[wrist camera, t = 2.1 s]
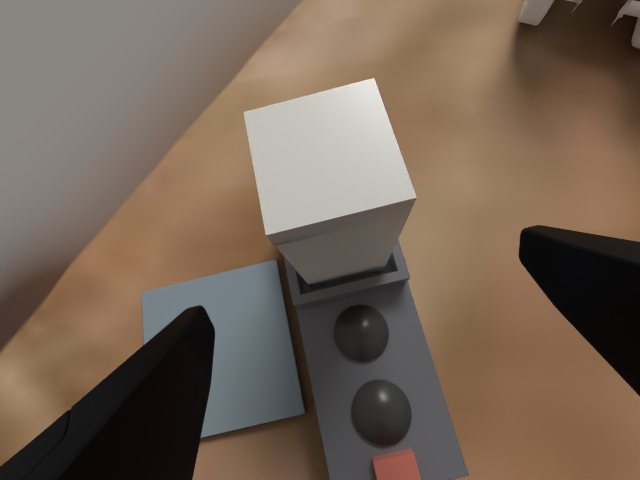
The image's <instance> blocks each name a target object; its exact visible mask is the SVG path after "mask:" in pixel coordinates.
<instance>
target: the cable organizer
mask: <svg viewBox="0 0 640 480" xmlns="http://www.w3.org/2000/svg"><path fill="white" fill-rule="evenodd" d="M565 1H570V2H575V3H577V5H576V6H575V8H574V10H575V9H576V7H577V6H578V5H579V4H580V3H581V2H582V0H565ZM553 2H554V0H525V1H524V3H523V6H522V8H521V11H520V15H519V20H518V21H519V22H523V23H527V24H531V25H535V26H537V25H538V24H539V23H540V22H541V20H542V19H543V18H544V16H545V15H546V13H547V12H548V10H549V8H550V7H551V5H552V3H553ZM574 10H573V11H574ZM571 14H572V13H571ZM623 14H625V15H630V16H635V17H638V19H637V23H636V26H635V29H634V33H633V36H632V46H633V47H635V48H640V2H639V1H634V0H628V1H627V2H626V3H625V5H624V6H623V7H622V8H621V9H620V10H619V11H618V15H617V17H616V19H615V20H614V22H613V24H614V23H615V21H616V20H617V19H618V18H622V16H623ZM613 24H612V25H613ZM612 25H611V26H612Z"/></svg>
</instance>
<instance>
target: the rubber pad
mask: <svg viewBox="0 0 640 480" xmlns="http://www.w3.org/2000/svg"><path fill="white" fill-rule="evenodd" d="M198 305H201V306H203V307H204V308H205V310H206V312H207V314H208V316H209V318H210V320H211V322H212V324H213V326H214V328H215V344H214V356H213V368H212V379H211V387H210V392H209V398H208V403H207V408H206V413H205V418H204V423H203V428H202V433H201V438H202V437H206V436H211V435H215V434H219V433H224V432H228V431H232V430H237V429H241V428H245V427H250V426H254V425H258V424H262V423H267V422H271V421H275V420H280V419H284V418H288V417H293V416H297V415H301V414H305V413H306V411H305V406H304V400H303V395H302V390H301V384H300V379H299V374H298V368H297V363H296V358H295V352H294V347H293V342H292V336H291V331H290V326H289V320H288V315H287V310H286V304H285V299H284V294H283V288H282V283H281V278H280V273H279V267H278V262H277V260H276V259H275V260H271V261H267V262H263V263H259V264H255V265H251V266H247V267H243V268H239V269H235V270H231V271H227V272H223V273H219V274H215V275H211V276H207V277H203V278H198V279H194V280H190V281H186V282H182V283H178V284H174V285H170V286H166V287H162V288H158V289H154V290H150V291H146V292H142V311H143V333H144V345H145V344H146V343H147V342H148V341H149V340H150V339H152V338H153V337H154V336H155V335H156V334H157V333H159V332H160V331H161V330H162V329H163V328H164V327H166V326H167V325H168V324H169V323H170V322H171V321H172V320H174V319H175V318H176V317H177V316H178V315H179V314H181V313H182V312H183V311H184V310H185V309H187V308H189V307H194V306H198Z"/></svg>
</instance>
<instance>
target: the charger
mask: <svg viewBox="0 0 640 480" xmlns="http://www.w3.org/2000/svg"><path fill="white" fill-rule="evenodd" d="M244 117H245V122H246V128H247V133H248V139H249V144H250V150H251V156H252V161H253V167H254V172H255V178H256V183H257V189H258V194H259V200H260V205H261V211H262V216H263V222H264V227H265V233H266V236H267V237H268V238H269V239H270V241H271V242H272V243H273V244H274V245H275V246H276V248H277V249H278V250H279V251H280V252H281V253H282V254H283V256H284V257H285V258H286V259H287V260H288V261H289V263H290V264H291V265H292V266H293V267H294V268H295V270H296V271H297V272H298V273H299V274H300V275H301V277H302V278H303V279H304V280H305V281H306V282H307V284H308V285H309V286H310V287H315V286H320V285H324V284H328V283H332V282H336V281H340V280H344V279H348V278H352V277H357V276H361V275H365V274H369V273H373V272H377V271H381V270H384V269H385V266H386V264H387V262H388V260H389V258H390V255H391V253H392V251H393V249H394V247H395V244H396V242H397V240H398V238H399V235H400V233H401V231H402V229H403V227H404V224H405V222H406V220H407V218H408V216H409V213H410V211H411V209H412V207H413V205H414V202H415V200H416V198H417V197H416V194H415V192H414V189H413V186H412V183H411V180H410V178H409V175H408V172H407V169H406V166H405V164H404V161H403V158H402V155H401V152H400V150H399V147H398V144H397V141H396V138H395V136H394V133H393V130H392V127H391V124H390V122H389V119H388V116H387V113H386V110H385V108H384V105H383V102H382V99H381V96H380V93H379V91H378V88H377V85H376V82H375V79H374V78H372V79H368V80H365V81H361V82H357V83H353V84H349V85H346V86H342V87H338V88H334V89H330V90H327V91H323V92H319V93H315V94H311V95H307V96H304V97H300V98H296V99H292V100H288V101H285V102H281V103H277V104H273V105H269V106H265V107H262V108H258V109H254V110H250V111H246V112H244Z"/></svg>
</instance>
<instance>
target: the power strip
mask: <svg viewBox="0 0 640 480" xmlns="http://www.w3.org/2000/svg"><path fill="white" fill-rule="evenodd" d="M283 257H284V256H283ZM284 262H285V267H286V272H287V277H288V282H289V288H290V293H291V298H292V303H293V306H294V307H296V311H297V316H298V321H299V326H300V331H301V336H302V341H303V346H304V351H305V356H306V361H307V366H308V371H309V376H310V381H311V386H312V391H313V396H314V402H315V407H316V412H317V417H318V422H319V427H320V432H321V437H322V442H323V447H324V452H325V457H326V462H327V467H328V472H329V477H330V480H451V479H455V478H460V477H465V476H469V474H468V471H467V468H466V465H465V462H464V459H463V455H462V452H461V449H460V446H459V443H458V440H457V436H456V433H455V430H454V427H453V424H452V421H451V417H450V414H449V411H448V408H447V405H446V402H445V399H444V395H443V392H442V389H441V386H440V383H439V380H438V376H437V373H436V370H435V367H434V364H433V361H432V358H431V354H430V351H429V348H428V345H427V342H426V339H425V335H424V332H423V329H422V326H421V323H420V320H419V316H418V313H417V310H416V307H415V304H414V301H413V298H412V294H411V291H410V288H409V285H408V282H407V281H408V279H409V278H410V275H409V272H408V269H407V266H406V263H405V259H404V256H403V253H402V250H401V247H400V244H399V241H398V240H397V242H396V244H395V247H394V249H393V251H392V253H391V255H390V258H389V260H388V262H387V264H386V266H385V269H384V270H381V271H377V272H373V273H369V274H365V275H361V276H357V277H352V278H348V279H344V280H340V281H336V282H332V283H328V284H324V285H320V286H315V287H310V286H309V285H308V284H307V282H306V281H305V280H304V279H303V278H302V277H301V275H300V274H299V273H298V272H297V271H296V270H295V268H294V267H293V266H292V265H291V264H290V263H289V261H288V260H287V259H286V258H285V257H284Z"/></svg>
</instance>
